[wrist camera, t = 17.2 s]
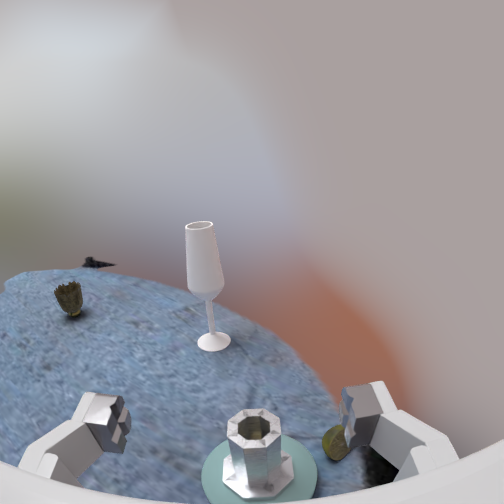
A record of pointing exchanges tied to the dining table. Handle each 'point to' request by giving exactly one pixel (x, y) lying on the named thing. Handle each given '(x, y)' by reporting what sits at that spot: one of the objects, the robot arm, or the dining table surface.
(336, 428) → the lime
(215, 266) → the champagne flute
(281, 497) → the hub
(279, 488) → the sleeve
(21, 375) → the dining table surface
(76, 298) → the cup
